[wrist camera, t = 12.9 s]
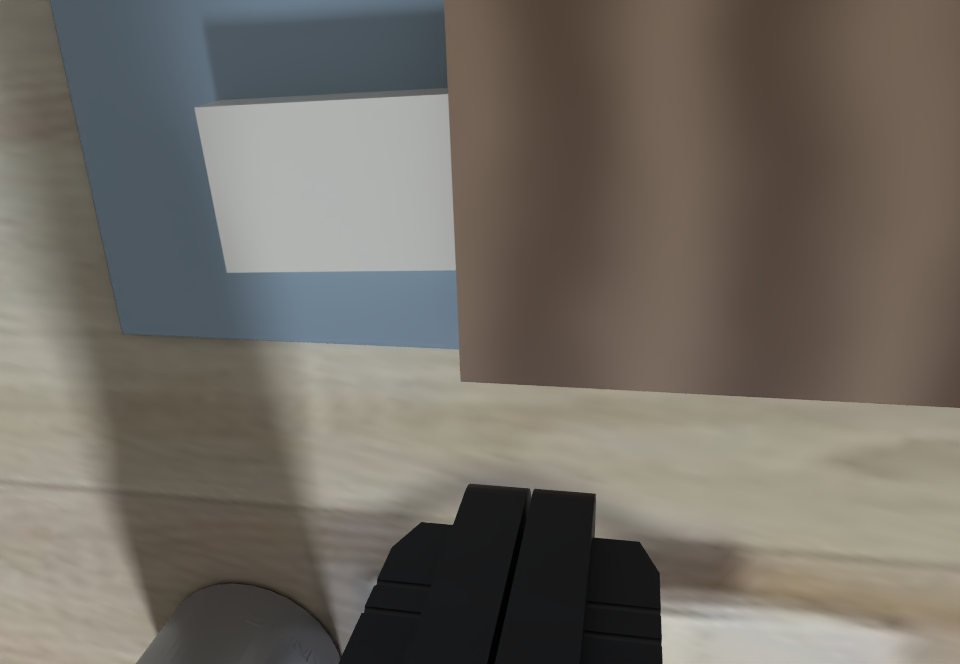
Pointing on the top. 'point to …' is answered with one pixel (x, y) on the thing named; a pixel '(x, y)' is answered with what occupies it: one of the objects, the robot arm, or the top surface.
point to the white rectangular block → (332, 181)
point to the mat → (182, 170)
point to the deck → (709, 196)
